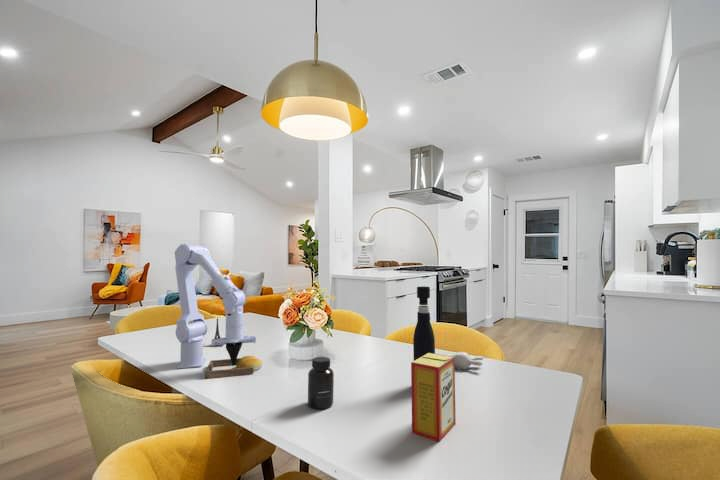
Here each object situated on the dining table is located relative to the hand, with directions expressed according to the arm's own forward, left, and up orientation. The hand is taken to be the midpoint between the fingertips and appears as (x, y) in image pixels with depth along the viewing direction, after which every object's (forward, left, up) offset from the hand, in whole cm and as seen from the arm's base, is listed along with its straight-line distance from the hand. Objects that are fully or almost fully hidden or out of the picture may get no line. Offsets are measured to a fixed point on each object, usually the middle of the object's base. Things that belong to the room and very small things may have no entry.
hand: (234, 364), depth 121 cm
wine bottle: (+33, +56, -2) cm, 66 cm away
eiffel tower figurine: (-37, -9, -2) cm, 38 cm away
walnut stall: (0, -1, -2) cm, 2 cm away
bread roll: (0, +5, -2) cm, 5 cm away
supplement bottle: (+36, +24, -2) cm, 44 cm away
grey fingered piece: (+21, +77, -2) cm, 79 cm away
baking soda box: (+56, +47, -2) cm, 74 cm away
